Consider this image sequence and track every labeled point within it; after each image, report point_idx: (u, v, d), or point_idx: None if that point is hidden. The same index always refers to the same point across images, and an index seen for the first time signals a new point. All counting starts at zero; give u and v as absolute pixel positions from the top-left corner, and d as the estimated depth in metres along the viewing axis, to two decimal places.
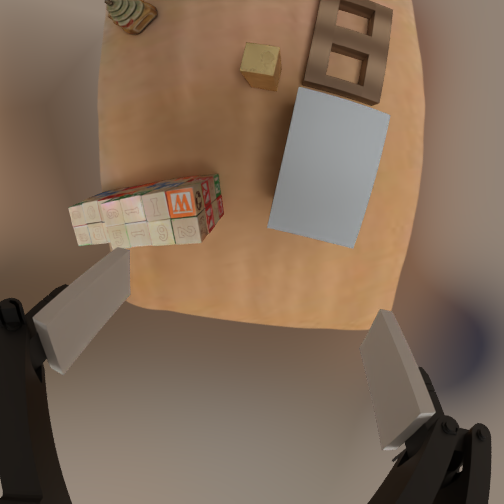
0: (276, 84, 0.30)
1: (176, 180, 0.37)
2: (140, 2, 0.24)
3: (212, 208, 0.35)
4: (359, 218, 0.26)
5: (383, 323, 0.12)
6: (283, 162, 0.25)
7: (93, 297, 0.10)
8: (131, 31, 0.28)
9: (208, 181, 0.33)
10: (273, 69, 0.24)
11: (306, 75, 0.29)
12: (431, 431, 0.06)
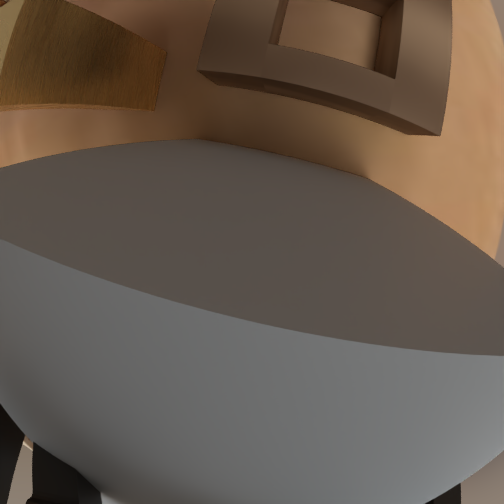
0: (127, 97, 0.10)
1: None
2: None
3: None
4: None
5: None
6: None
7: None
8: None
9: None
10: None
11: (204, 53, 0.08)
12: None
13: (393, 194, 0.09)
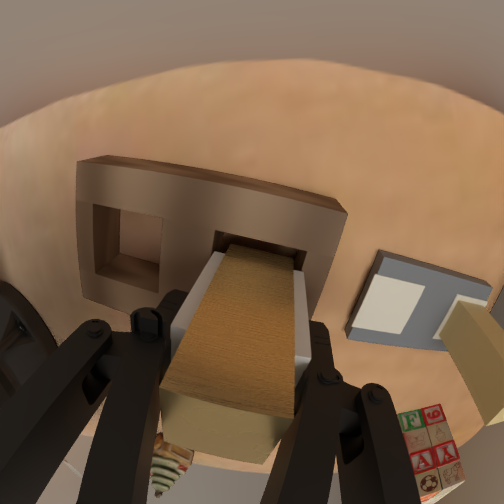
0: (283, 283, 0.12)
1: None
2: (155, 459, 0.27)
3: (437, 444, 0.19)
4: None
5: None
6: None
7: None
8: None
9: (410, 451, 0.20)
10: (264, 416, 0.06)
11: None
12: (306, 385, 0.08)
13: None
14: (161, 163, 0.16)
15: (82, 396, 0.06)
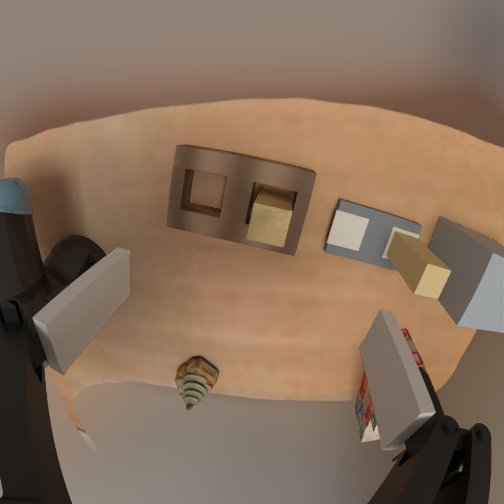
0: (287, 195, 0.31)
1: None
2: (188, 376, 0.43)
3: None
4: None
5: (383, 323, 0.12)
6: (492, 330, 0.23)
7: (93, 297, 0.10)
8: (216, 379, 0.45)
9: None
10: (284, 211, 0.24)
11: (288, 253, 0.33)
12: (431, 431, 0.06)
13: (454, 229, 0.28)
14: (222, 150, 0.32)
15: None
